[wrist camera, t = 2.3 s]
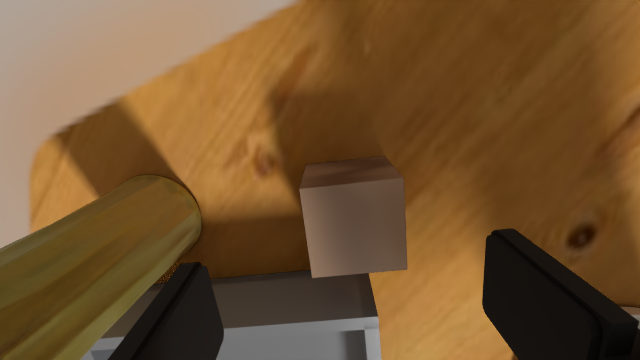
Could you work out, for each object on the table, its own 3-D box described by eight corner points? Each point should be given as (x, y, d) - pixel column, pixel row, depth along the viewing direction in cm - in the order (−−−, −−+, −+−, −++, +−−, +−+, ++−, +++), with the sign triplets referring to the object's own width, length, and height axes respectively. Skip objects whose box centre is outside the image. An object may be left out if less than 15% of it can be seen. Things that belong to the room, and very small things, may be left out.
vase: (98, 185, 20) (-421, 397, 6) (183, 164, 19) (-174, 345, 5) (136, 263, 21) (-204, 569, 8) (215, 246, 21) (2, 542, 7)
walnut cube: (384, 155, 19) (403, 177, 14) (388, 227, 20) (407, 269, 15) (306, 164, 19) (299, 189, 14) (315, 234, 20) (312, 277, 16)
